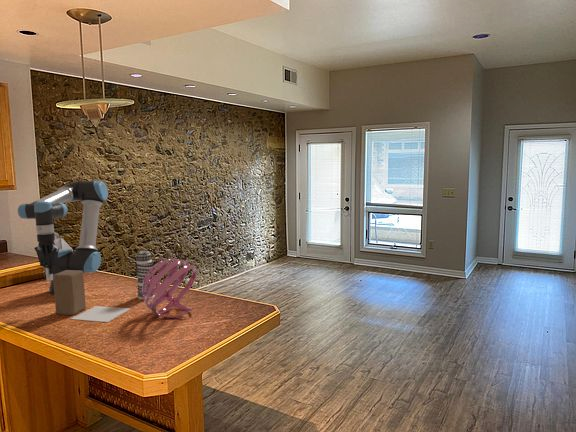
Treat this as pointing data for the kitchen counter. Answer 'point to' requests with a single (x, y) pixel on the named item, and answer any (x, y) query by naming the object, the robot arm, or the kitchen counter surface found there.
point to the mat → (100, 314)
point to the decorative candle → (143, 270)
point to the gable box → (61, 242)
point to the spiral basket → (163, 286)
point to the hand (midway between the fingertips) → (49, 280)
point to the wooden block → (69, 292)
